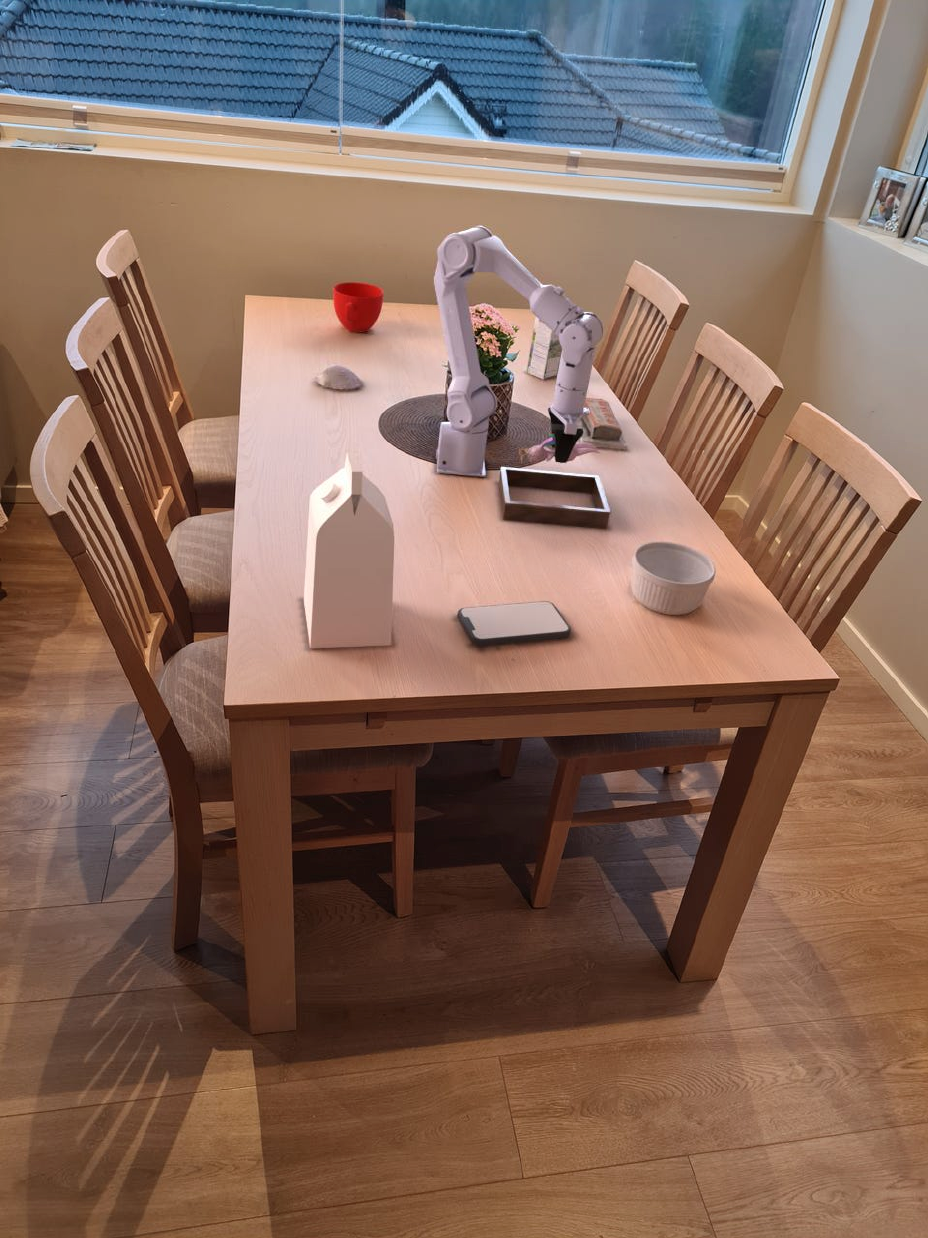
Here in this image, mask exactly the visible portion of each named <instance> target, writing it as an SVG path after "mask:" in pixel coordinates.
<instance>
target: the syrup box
mask: <svg viewBox="0 0 928 1238" xmlns="http://www.w3.org/2000/svg"><path fill="white" fill-rule="evenodd" d="M529 348H530V350H529V355H528V360H527V367H526V374H529V375H531V376H533V377H536V378H538V379H541V380H547V379H550V378H554V377H557V375H558V370H559V364H560V358H561V354H562V347H561V345H560V342H559V336H558V335H556V334H555V333H554V332H553V331H552V330H551V329H550V328H549V327H547V326H546V325H545V324H544V323H543V322H542V321H541V320H540V319H539V318H537V317H536V316H535V319H534V326H533V331H532V337H531V342H530V347H529Z"/></svg>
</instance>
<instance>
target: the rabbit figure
mask: <svg viewBox="0 0 928 1238" xmlns="http://www.w3.org/2000/svg"><path fill="white" fill-rule="evenodd" d="M548 436H549V437H550V438H548V439H545V440H544V441H542V442H541V444H535V445H533V446H531V447H526V446H524V447H523V448H520V447H519V448H518V455H519V458H520V462H521V464H522V463H523V460H524V457H525V456H526V457H527V460H528V462H529V463H531V464H535V463H538V462H540V461H542V460H544V461H545V462H549V461H551V460H552V459H553V458H555V450H552V449H550V448H549V447H548V446H552V445H553V444H555V437H554V434H551V433H550V434H548ZM523 451H524V452H525V453H524V454H522V452H523ZM591 453H596V454H601V452H600V451H599V447H596V446H594V445H592V444H590V443H586V442H580V441H579V442H577V443H576V444H575V446H574V448H573V450H572V452H571V454H570V456H569V459H568V461H567V462H566V463H569V462H572V461H574V460H575V459H576V458H577V457H580V456H583V455H586V454H591Z"/></svg>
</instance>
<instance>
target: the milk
mask: <svg viewBox="0 0 928 1238" xmlns="http://www.w3.org/2000/svg"><path fill="white" fill-rule="evenodd" d="M345 454H346V456H345V460H344V461H345V462H344V467H342V468H340V469H339V470H338V471H337V472H335V473H334V474H333V475H332V476H330V477H329V478H327V479H326V480H324V481H323V482H322V483H321V484H319V485H318V486H317V487H316V488H315V489H314V490H313V491H312V493H311V495H310V497H309V504H308V505H309V506H308V507H309V508H308V521H307V522H308V523H307V540H306V556H305V557H306V558H305V573H304V589H303V592H304V593H303V605H304V610H305V613H304V614H305V619H306V626H307V627H306V628H307V634H308V642H309V649H332V648H355V647H356V648H357V647H358V648H359V647H360V648H361V647H363V648H364V647H385V646H392V629H393V627H392V626H393V598H394V566H395V565H394V564H395V529H394V522H393V519H392V516H391V512H390V509H389V506H388V503H387V499H386V497H385V495H384V494H383V492H382V491H381V490H380V488H379V487H378V486H377V485H376V484H375V483H374V482H372V481H371V480H370V479H369V478H367V476H366V475H365V474H363V468H362V466H361V461H360V458H359V455H358V451H346V453H345Z"/></svg>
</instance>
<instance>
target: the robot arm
mask: <svg viewBox="0 0 928 1238" xmlns="http://www.w3.org/2000/svg"><path fill="white" fill-rule="evenodd" d="M436 254H437V263H436V267H435V272H434V276H433V285H434V290H435V296H436V301H437V306H438V311H439V316H440V321H441V322H440V323H441V327H442V332H443V336H444V343H445V347H446V352H447V353H446V354H447V358H448V363H449V367H450V372H451V378H452V379H451V381H450V384H449V387H448V389H447V392H446V395H447V407H446V416H447V421H441V422H440V424H439V425H440V427H439V435H438V444H437V449H436V451H435V459H436V472H437V473H438V474H446V475H447V474H448V475H456V476H457V475H458V476H468V477H479V478H480V477H481V478H485V477H486V475H487V474H486V463H485V455H486V447H487V441H488V432H489V425H490V417H491V416H493V414H494V413H495V412H496V410H497V408H498V407H497V406H498V400H497V396H496V394H495V393H494V391H493V390H492V387H491V385H490V379H489V378H488V377H487V376H486V375H485V374H483V373H482V371H481V366H480V365H481V364H480V360H479V355H478V350H477V343H476V338H475V332H474V328H473V327H474V326H473V321H472V315H471V309H470V306H469V300H468V294H467V289H466V287H467V284H468V283H469V282H470V280H471V279H472V277H473V276H474V275H475V273H493V274H495V275H496V276H497V277H499V278H500V279H501V280H502V281H504V282H505V283H506V284H508V285H509V286H510V287H511V288H513V289H514V290H515V291H516V292H518V293H519V294H520V295H521V296H523V298H525V299H526V300H528V302H529V308H530V313H532V314H533V315H534V316H535V318H536V317H537V318H539V319H540V320H541V321H542V322H543V323H544V324H545V325H546V326H547V327H549V328H550V329H551V330H552V331H553V332H554V333H555V334H556V335H558V336H559V342H560V345H561V347H562V354H561V358H560V364H559V370H558V375H557V376H556V381H555V386H554V393H553V398H552V403H551V405H550V407H548V408H547V412H548V415H549V419H550V429H551V430H550V431H551V432H550V434H554V437H555V444H553V445H551V448H554V451H555V457H554V462H555V463H560V464H567V463H568V462H567V461H568V459H569V456H570V454H571V452H572V450H573V448H574V446H575V444H576V443H578V441H580V440H579V439H580V438H581V437H582V435H583V429H581V428H577V426H578V423H579V421H580V420H581V418H582V417H583V416H584V415H589V413H590V411H589V409H588V408H584V405H585V400H586V398H587V394H588V389H589V384H590V379H591V375H592V370H593V364H594V357H595V352H596V347H595V346H596V345H598V343H599V342H600V341H601V340H602V337H603V335H604V326H603V323H602V321H601V320H600V318H598V316H597V315H596V313H593V312H590V311H586V312H585V310H584V308H583V307H581V306H579V307H578V306H577V305H576V304H575V303H574V302H573V301H572V300H571V299H569V298H568V297H567V296H566V295H565V294H564V292H565V289H563V288H562V287H561V286H559V285H558V286H555V285H553V284H546V285H545V284H543V283H541V282H540V281H539V280H538V279H537V278H536V277H535V276H534V275H533V274H532V273H531V272H530V271H529V270H528V269H527V268H526V267H525V266H524V265H523V264H522V263H521V262H520V261H519V260H518V259H517V258H516V257H515V256H514V254H512V253H511V252H510V251H509V250H508V249H507V248H506V246H505V244H504V243H503V241H502V239H501V238H500V237H498V236H497V235H494V234H493V232H492V231H491V230H490V229H488V228H487V227H485V226H482V225H477V226H476V225H475V226H473V227H471V228H469V229H467V230H463V231H459V232H453V233H451V234H450V233H449V235H447V236H446V237H445V238H444V239H443V241H442V242H441V243H440V245H439V246H438V247H437V249H436Z"/></svg>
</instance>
